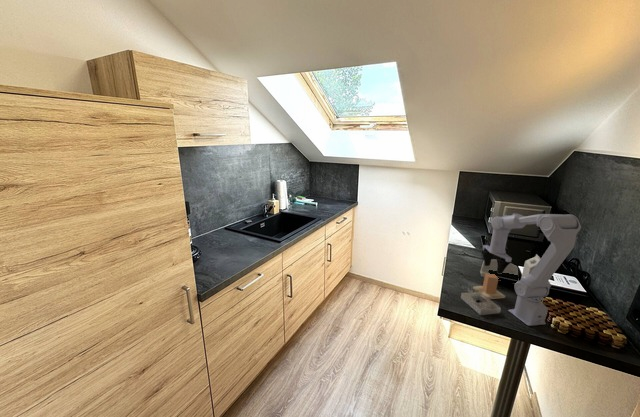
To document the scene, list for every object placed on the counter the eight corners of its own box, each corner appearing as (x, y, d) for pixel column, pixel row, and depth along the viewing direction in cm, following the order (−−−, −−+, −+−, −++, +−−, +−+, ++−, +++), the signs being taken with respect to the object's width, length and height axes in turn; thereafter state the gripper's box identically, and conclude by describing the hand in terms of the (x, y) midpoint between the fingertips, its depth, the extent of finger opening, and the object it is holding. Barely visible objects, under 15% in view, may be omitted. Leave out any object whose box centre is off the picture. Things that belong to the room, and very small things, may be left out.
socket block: (499, 313, 108) (501, 307, 107) (480, 315, 107) (481, 309, 106) (478, 296, 120) (479, 291, 119) (460, 297, 118) (461, 293, 118)
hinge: (480, 276, 137) (482, 257, 138) (478, 275, 142) (481, 256, 142) (519, 284, 130) (521, 264, 131) (516, 282, 135) (518, 263, 135)
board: (504, 297, 119) (505, 295, 118) (486, 299, 117) (487, 297, 117) (489, 287, 127) (490, 285, 127) (472, 288, 126) (473, 286, 126)
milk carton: (536, 292, 123) (546, 255, 118) (542, 301, 117) (552, 262, 112) (518, 289, 126) (526, 252, 121) (523, 297, 119) (532, 259, 114)
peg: (495, 294, 120) (498, 278, 118) (485, 292, 121) (488, 277, 119) (491, 289, 124) (494, 274, 121) (482, 288, 124) (485, 273, 122)
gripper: (520, 248, 113) (513, 276, 117) (494, 236, 127) (489, 261, 130) (505, 248, 112) (499, 277, 116) (480, 236, 126) (476, 262, 129)
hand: (493, 269), depth 123 cm, fingers open, 7 cm apart
